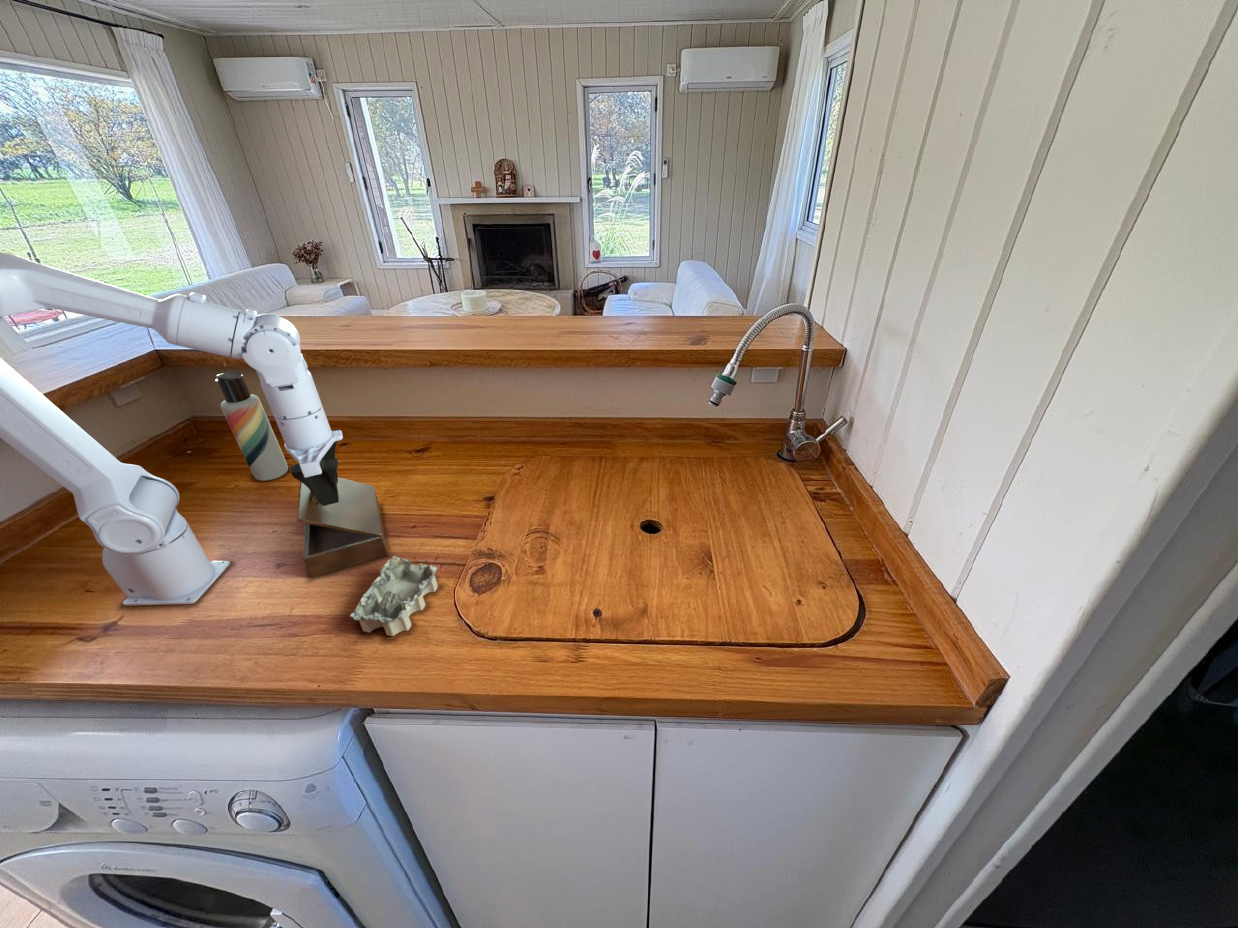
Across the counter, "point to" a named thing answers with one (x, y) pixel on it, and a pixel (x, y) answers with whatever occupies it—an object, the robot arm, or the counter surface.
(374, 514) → the lid
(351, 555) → the compartment
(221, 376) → the lotion bottle
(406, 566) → the egg carton
